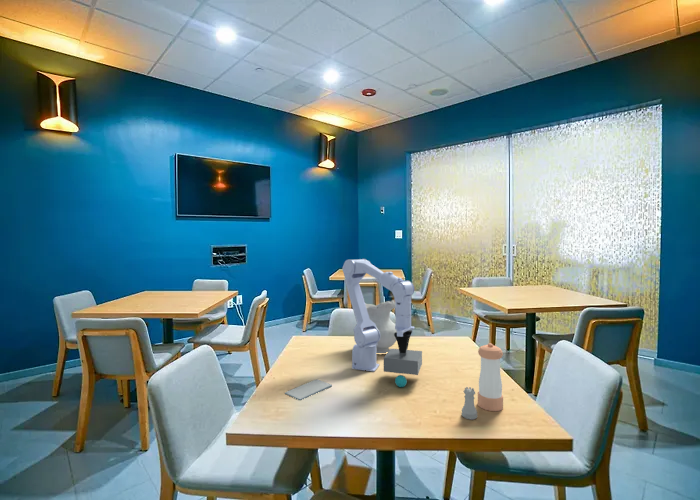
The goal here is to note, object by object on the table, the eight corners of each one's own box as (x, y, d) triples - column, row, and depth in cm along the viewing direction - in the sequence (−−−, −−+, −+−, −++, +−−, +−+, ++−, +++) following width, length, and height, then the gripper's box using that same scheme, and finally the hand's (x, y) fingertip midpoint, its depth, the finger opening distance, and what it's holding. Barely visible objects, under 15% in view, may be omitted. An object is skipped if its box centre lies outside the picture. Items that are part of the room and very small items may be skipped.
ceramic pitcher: (347, 356, 159) (345, 302, 156) (358, 341, 177) (357, 293, 175) (394, 361, 152) (394, 305, 150) (401, 345, 171) (401, 295, 168)
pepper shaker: (491, 413, 103) (491, 348, 102) (472, 403, 109) (472, 342, 109) (508, 408, 106) (508, 344, 106) (488, 398, 113) (489, 339, 112)
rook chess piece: (458, 413, 103) (458, 385, 103) (473, 412, 104) (473, 385, 103) (465, 420, 99) (465, 392, 99) (480, 419, 99) (480, 391, 99)
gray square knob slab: (383, 371, 124) (383, 348, 124) (390, 360, 136) (390, 339, 136) (417, 375, 121) (417, 351, 120) (422, 363, 132) (421, 341, 132)
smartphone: (283, 392, 117) (316, 378, 128) (283, 395, 117) (316, 381, 128) (299, 399, 112) (332, 384, 123) (299, 402, 112) (332, 387, 123)
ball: (394, 388, 121) (394, 376, 121) (396, 384, 125) (396, 372, 125) (405, 389, 120) (405, 377, 120) (407, 385, 123) (407, 374, 123)
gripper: (411, 319, 120) (411, 358, 120) (417, 311, 133) (417, 346, 134) (390, 317, 122) (391, 356, 122) (398, 310, 136) (398, 345, 136)
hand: (403, 351), depth 128 cm, fingers closed on gray square knob slab, 2 cm apart
